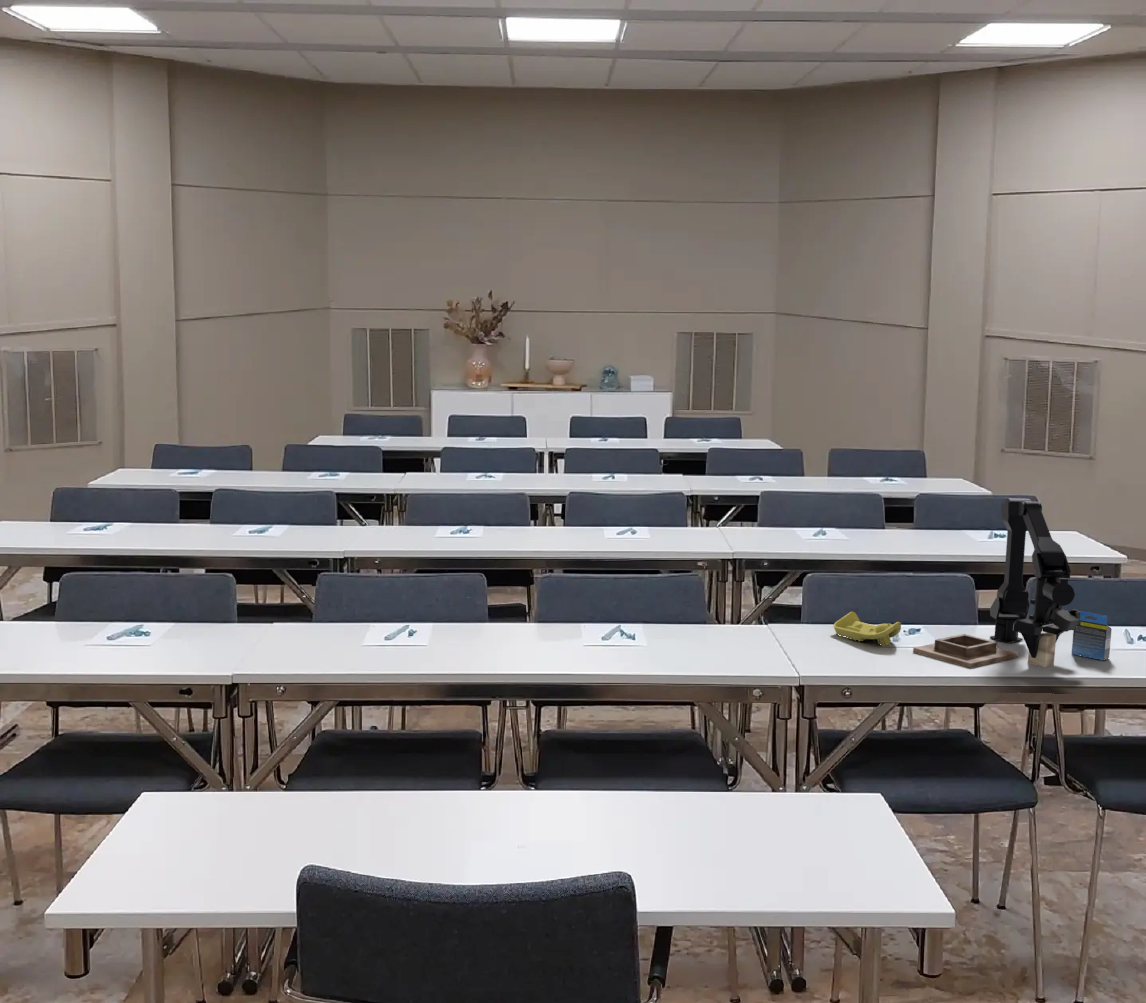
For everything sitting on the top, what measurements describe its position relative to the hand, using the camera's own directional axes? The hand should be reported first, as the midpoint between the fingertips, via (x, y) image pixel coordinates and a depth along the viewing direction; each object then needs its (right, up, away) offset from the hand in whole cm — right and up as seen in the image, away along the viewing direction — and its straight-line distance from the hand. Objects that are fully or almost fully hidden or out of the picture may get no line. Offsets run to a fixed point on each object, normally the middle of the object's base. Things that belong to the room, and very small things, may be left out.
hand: (1041, 655), depth 332 cm
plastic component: (-41, +1, +19) cm, 45 cm away
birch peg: (0, -2, 0) cm, 2 cm away
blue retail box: (+16, -2, +9) cm, 18 cm away
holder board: (-18, -1, +7) cm, 19 cm away
